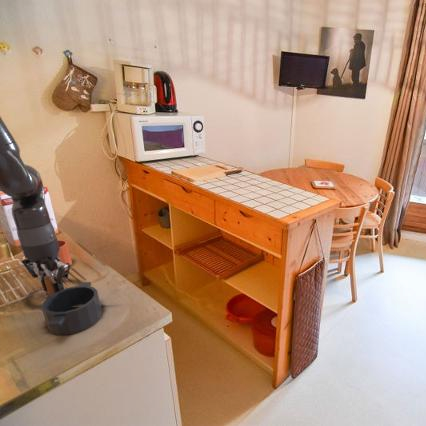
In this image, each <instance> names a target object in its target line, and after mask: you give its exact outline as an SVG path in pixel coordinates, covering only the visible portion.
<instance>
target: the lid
mask: <svg viewBox="0 0 426 426" xmlns="http://www.w3.org/2000/svg"><path fill="white" fill-rule="evenodd" d="M56 277H57V274H56V275H55V278H56ZM44 282H45V285H46V288H47V291H46V292H47V294H48V297H50V296H51V295H53V294H55V292H54V288H53V285H52V281H51V279H50V277H47V276H45V277H44Z"/></svg>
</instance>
